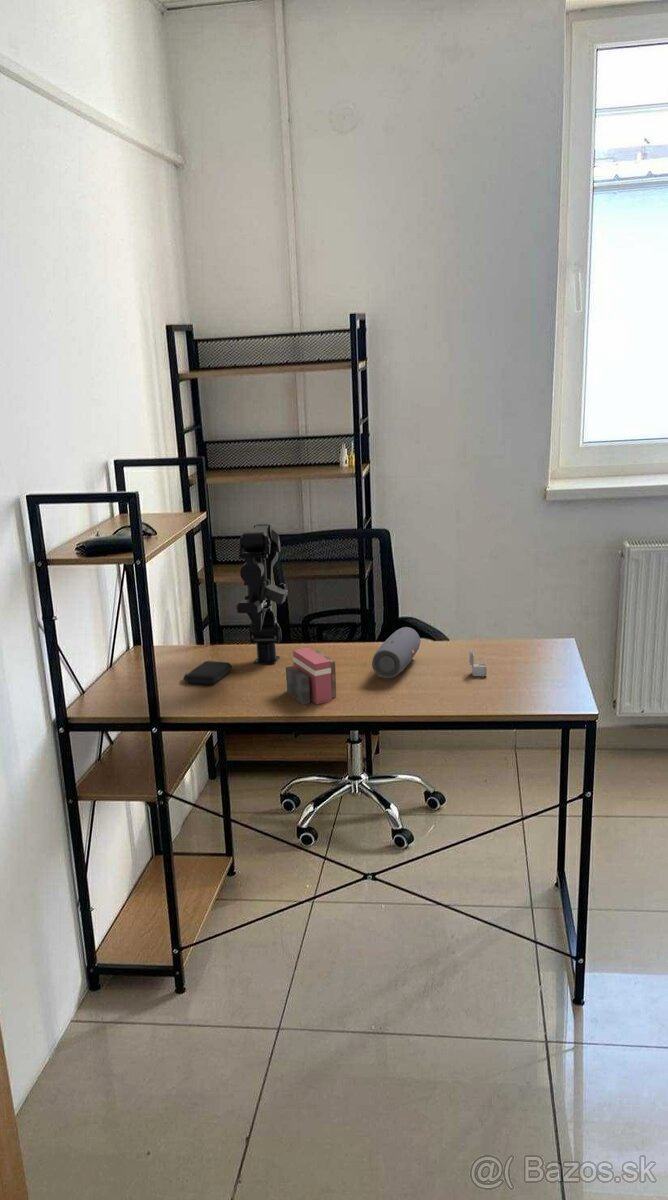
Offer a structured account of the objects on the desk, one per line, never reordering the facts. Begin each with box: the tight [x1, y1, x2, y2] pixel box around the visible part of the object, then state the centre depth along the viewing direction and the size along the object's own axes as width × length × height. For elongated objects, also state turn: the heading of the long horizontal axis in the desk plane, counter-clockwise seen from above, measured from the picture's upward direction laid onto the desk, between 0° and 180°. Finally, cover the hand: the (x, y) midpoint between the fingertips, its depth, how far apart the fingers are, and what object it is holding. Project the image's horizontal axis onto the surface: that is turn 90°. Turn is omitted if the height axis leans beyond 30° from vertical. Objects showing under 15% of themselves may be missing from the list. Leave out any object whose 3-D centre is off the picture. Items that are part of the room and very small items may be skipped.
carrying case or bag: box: [183, 660, 233, 687], centre depth 258 cm, size 11×3×15 cm
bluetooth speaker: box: [371, 626, 421, 679], centre depth 257 cm, size 23×9×10 cm, turn 161°
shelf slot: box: [285, 650, 337, 705], centre depth 240 cm, size 10×10×10 cm
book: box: [292, 647, 333, 705], centre depth 240 cm, size 14×4×11 cm, turn 26°
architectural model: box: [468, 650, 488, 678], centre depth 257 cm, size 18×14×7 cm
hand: (259, 631), depth 255 cm, fingers closed
